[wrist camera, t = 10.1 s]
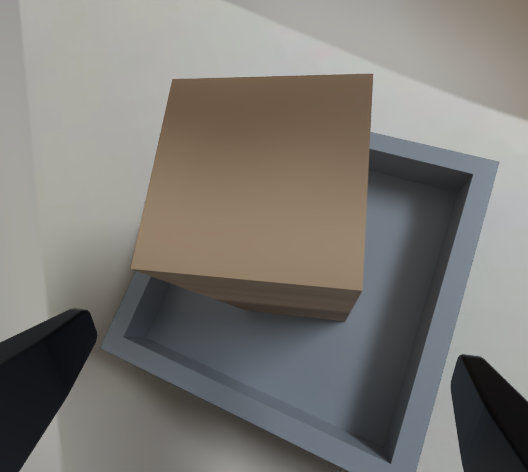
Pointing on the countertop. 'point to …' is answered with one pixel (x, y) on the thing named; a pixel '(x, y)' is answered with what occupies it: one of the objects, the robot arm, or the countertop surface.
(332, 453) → the tray
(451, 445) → the countertop surface
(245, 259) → the walnut handle block
